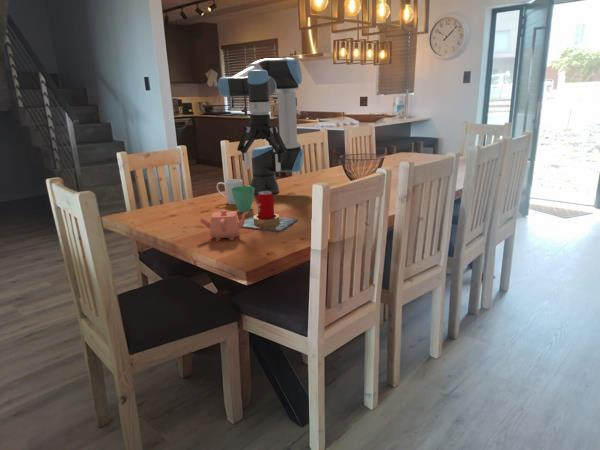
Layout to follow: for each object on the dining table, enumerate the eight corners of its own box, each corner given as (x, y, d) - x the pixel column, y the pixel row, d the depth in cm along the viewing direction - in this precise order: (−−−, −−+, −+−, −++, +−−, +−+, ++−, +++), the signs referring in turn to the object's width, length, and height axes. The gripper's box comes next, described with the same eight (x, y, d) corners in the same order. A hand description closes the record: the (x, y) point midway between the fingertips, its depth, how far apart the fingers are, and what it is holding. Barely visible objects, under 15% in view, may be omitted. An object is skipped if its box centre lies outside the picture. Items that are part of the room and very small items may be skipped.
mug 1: (244, 200, 211) (243, 178, 208) (242, 204, 203) (241, 182, 200) (219, 200, 211) (217, 179, 208) (216, 205, 203) (214, 182, 200)
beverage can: (267, 218, 178) (266, 189, 174) (277, 221, 173) (276, 192, 170) (255, 222, 174) (253, 192, 170) (265, 225, 169) (264, 194, 166)
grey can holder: (254, 215, 184) (254, 209, 184) (298, 220, 177) (297, 213, 176) (234, 226, 171) (233, 219, 170) (280, 232, 163) (280, 224, 162)
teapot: (217, 246, 150) (215, 217, 147) (199, 238, 158) (197, 210, 155) (251, 236, 159) (249, 209, 156) (232, 229, 167) (231, 203, 164)
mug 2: (252, 214, 187) (250, 191, 184) (230, 213, 189) (228, 190, 186) (260, 205, 201) (259, 184, 198) (240, 204, 203) (238, 183, 200)
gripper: (225, 114, 165) (230, 169, 172) (285, 114, 156) (287, 173, 162) (236, 112, 172) (239, 166, 179) (294, 113, 162) (295, 169, 169)
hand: (262, 170), depth 171 cm, fingers open, 13 cm apart
